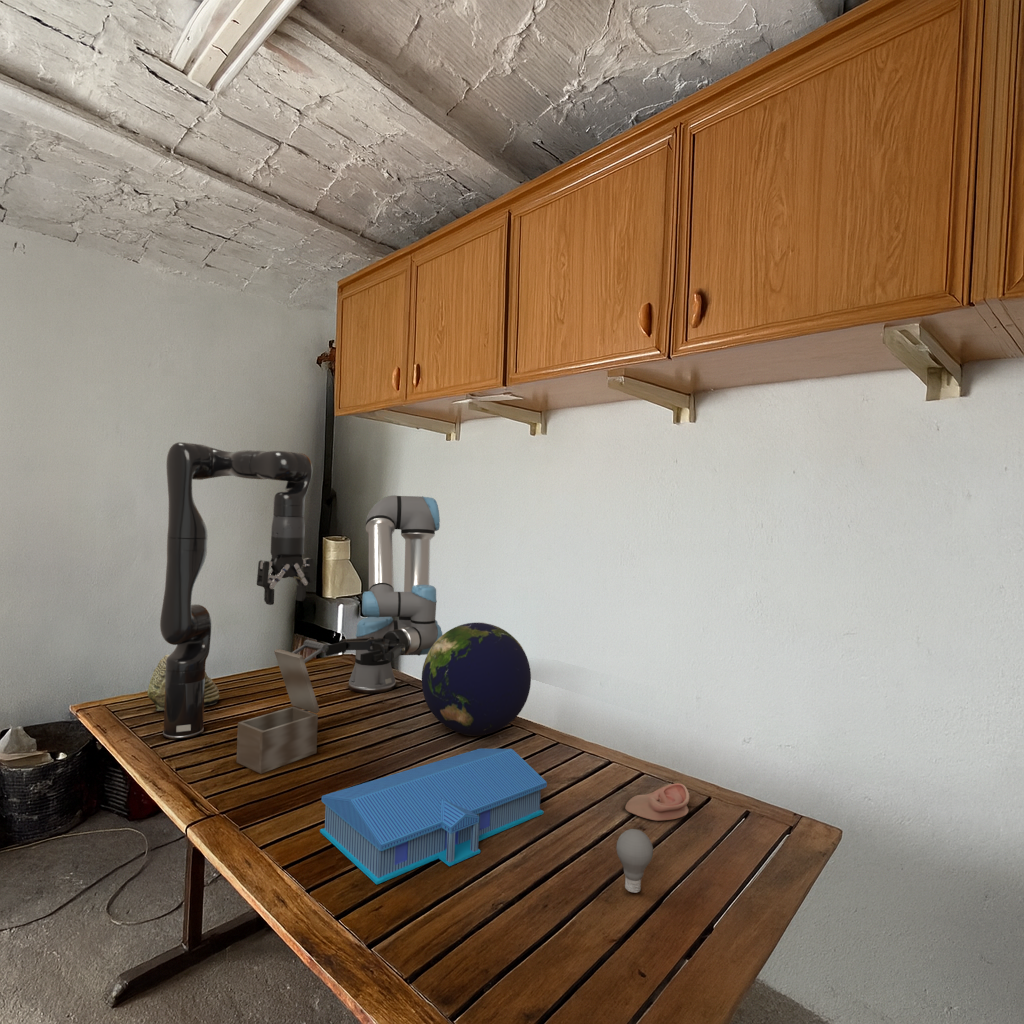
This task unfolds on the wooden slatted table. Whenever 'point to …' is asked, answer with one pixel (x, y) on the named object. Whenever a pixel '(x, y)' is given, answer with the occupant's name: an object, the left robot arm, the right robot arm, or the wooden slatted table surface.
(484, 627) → the globe
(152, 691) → the fossil
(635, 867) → the light bulb
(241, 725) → the chest
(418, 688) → the wooden slatted table surface
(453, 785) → the model building
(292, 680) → the grey piece
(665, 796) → the anatomical model
